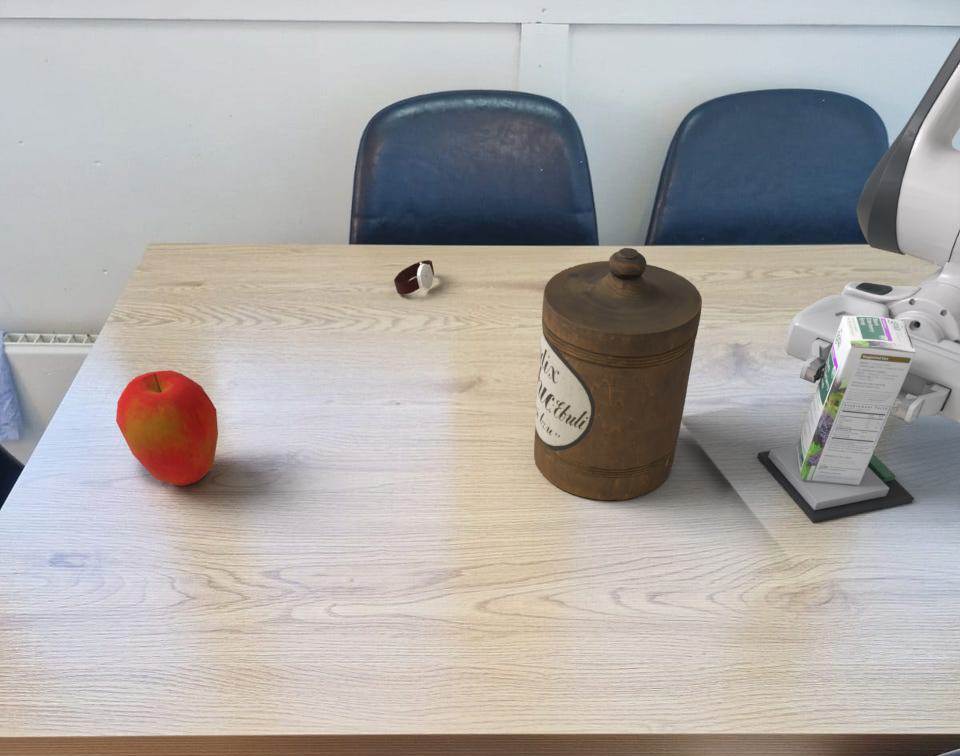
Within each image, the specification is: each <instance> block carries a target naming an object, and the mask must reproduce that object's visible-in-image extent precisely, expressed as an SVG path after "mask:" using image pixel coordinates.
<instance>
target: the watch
mask: <svg viewBox="0 0 960 756" xmlns="http://www.w3.org/2000/svg"><path fill="white" fill-rule="evenodd" d="M434 275H435V271H434V264H433V261H432V260H429V259H427V260H426V259H425V260H422V261H418V262H416V263H415V262H414V263H413V264H411V265H408V266H407V267H406V268H404V269H402V270H401V271H400V272H398V274H396V276H395V277H394V278H393V283H394V286H395V289H396V293H397V294H398V295H402V296H403V295H409V294H412V293H414V292H416V291H418V290H421V289H422V290H424V291H425V290H426V291H427V290H430V289H431V288H432V286H433V282H434Z"/></svg>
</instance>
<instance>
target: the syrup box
mask: <svg viewBox="0 0 960 756" xmlns="http://www.w3.org/2000/svg"><path fill="white" fill-rule="evenodd" d="M915 354H916V351H915V348H913V344H912V340H911V337H910V334H909V332H908V329H907V326H906V324H905V322H904V321H899V320H894V319H889V318H883V317H875V316H843V317H842V320H841V323H840V325H839V328H838V331H837V334H836V337H835V340H834V343H833V346H832V348H831V351H830V354H829V357H828V359H827V362H826V365H825V368H824V369H823V373H822V376H821V379H819V380H818V381H819V382H818V384H817V387H816V391H815V393H814V395H813V399H812V402H811V404H810V407H809V410H808V412H807V415H806V418H805V421H804V424H803V427H802V429H801V433H800V436H799V439H798V442H797V444H798V445H797V444H796V445H797V456H798V463H799V469H800V475H801V479H802V480H803V481H813V482H824V483H836V484H851V485H859V484H860V482H861V480H862V478H863V475H864V473H865V471H866V468H867V466H868V464H869V461H870V459H871V457H872V454H874V452H875V450H876V448H877V444H878V443H879V440H880V439H881V435H882V433H883V431H884V428H885V426H886V424H887V421H888V419H889V417H890V414H891V412H892V410H893V409H894V406H895V403H896V401H897V400H898V399H897V396H898V394H899V391H900V389H901V387H902V384H903V382H904V380H905V377H906V375H907V373H908V370H909V368H910V366H911V363H912V361H913V358H914V356H915Z"/></svg>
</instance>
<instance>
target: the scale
mask: <svg viewBox="0 0 960 756" xmlns="http://www.w3.org/2000/svg"><path fill="white" fill-rule="evenodd" d="M797 445H798V443H797V444H791V445H787V446H782V447H776V448H775V447H774V448H771V449H770V450H766V451H761V452H760V451H759V452H758V454H757V459H758V460H759V462H760V463H761V464H762V465H763V466H764V468H765V469H766V470H767V471H768V472H769V473H770V475H771V476H772V477H773V478H774V479H775V480H776V482H777V483H778V484H779V485H780V486H781V487H782V489H783V490H784V491H785V492H786V493H787V494H788V495H789V497H790V498H791V499H792V500H793V501H794V503H795V504H796V505H797V506H798V507H799V508H800V509H801V511H802V512H803V513H804V514H805V515H806V517H807V518H808V519H809V520H810V521H811V523H812V524H817V523H822V522H827V521H831V520H836V519H842V518H846V517H852V516H856V515H861V514H866V513H871V512H876V511H881V510H885V509H891V508H895V507H902V506H906V505H910V504H913V501H914V500H915V498H914V496H912V494H911V493H909V492H908V490H906V489H905V487H904V486H902V484H901V483H899V482H898V481H897V480H896V478H895V477H896V475H895V473H894V472H893V471H891V469H890V468H889V467H887V465H886V464H885V463H883V462H882V461H881V460H880V459H879V458H878V457H877V456H876V455H875V454H874V453H873V454H872V457H871V459H870V461H869V464H868V466H867V468H866V471H865V473H864V475H863V478H862V480H861V482H860V484H859V485H851V484H836V483H824V482H813V481H803V480H802V479H801V475H800V469H799V463H798V456H797Z"/></svg>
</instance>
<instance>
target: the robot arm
mask: <svg viewBox="0 0 960 756" xmlns="http://www.w3.org/2000/svg"><path fill="white" fill-rule="evenodd" d="M957 39H958V40H957V41H956V42H955V44H954V46H953V47H952V49H951V51H950V52H949V54H948V55H947V57H946V59H945V60H944V62H943V64H942V65H941V67H940V68H939V70H938V72H937V73H936V74H935V77H934V78H933V80H932V81H931V83H930V85H929V86H928V88H927V89H926V91H925V93H924V95H923V97H921V99H920V101H919V102H918V104H917V106H916V108H915V109H914V110H913V113H912V114H911V116H910V117H909V119H908V120H907V122H906V123H905V125H904V127H903V128H902V129H901V131H900V132H899V134H898V135H897V136H896V138H895V139H894V140H893V142H892V143H891V145H890V146H889V147H888V148H887V150H886V151H885V153H884V154H883V156H882V157H881V159H880V160H879V161H878V162H877V164H876V166H875V168H874V169H873V170H872V172H871V173H870V175H869V176H868V178H867V180H866V182H865V183H864V186H863V188H862V191H861V193H860V195H859V198H858V200H857V204H856V210H855V211H856V217H857V221H858V224H859V227H860V230H861V232H862V234H863V236H864V239H865V240H866V242H867V244H868V246H870V248H872V249H877V250H879V251H880V250H881V251H885V252H889V253H893V254H897V255H901V256H905V255H906V256H910V257H913V258H914V259H915V258H916V259H918V260H920V261H924V262H925V263H929V264H932V265H934V266H938V267H940V268H939V269H937V270H935V271H934V272H932V273H931V274H929V275H928V276H927V277H926V278H925V279H923V280H922V281H921V282H920V283H919V284H918V285H917V286H916V285H886V284H878V283H872V282H865V281H861V280H852V281H850V282H848V283H846V284H845V286H844V288H843V290H842V291H841V293H838V294H837V293H835V294H830V295H827V296H824V297H822V298H820V299H818V300H817V301H815V302H813V303H812V304H809V305H808V306H806V307H805V308H803V309H801V310H800V311H799V312H798V313H797V314H795V316H793V318H792V320H791V321H790V323H789V327H788V329H787V333H786V336H785V341H784V350H785V352H786V355H788V356H790V357H792V358H795V359H798V360H800V361H803V362H804V363H803V365H802V367H801V370H800V374H799V379H800V380H801V379H802V380H803V381H806V382H809V383H812V384H815V383H817V381H820V379H821V376H822V373H823V370H824V368H825V365H826V362H827V359H828V357H829V354H830V351H831V348H832V346H833V343H834V340H835V337H836V334H837V331H838V328H839V325H840V323H841V320H842V317H843V316H875V317H883V318H889V319H894V320H899V321H904V322H905V324H906V326H907V329H908V332H909V334H910V337H911V340H912V344H913V348H915V351H916V354H915V356H914V358H913V361H912V363H911V366H910V368H909V370H908V373H907V375H906V377H905V380H904V382H903V384H902V387H901V389H900V391H899V394H898V396H897V399H896V400H900V401H899V402H898V404H897V407H896V409H897V410H895V411H894V413H893V417H894V418H897V419H898V420H901V421H903V422H905V423H908V424H910V423H911V422H912V421H913V420H914V419H916V418H921V417H930V416H931V417H932V416H936V415H938V416H940V417H942V418H945V419H947V420H950V421H953V422H955V423H958V424H960V150H959V149H957V148H955V147H954V146H953V140H954V138H955V136H956V135H957V133H958V132H959V130H960V37H959V38H957Z"/></svg>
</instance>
